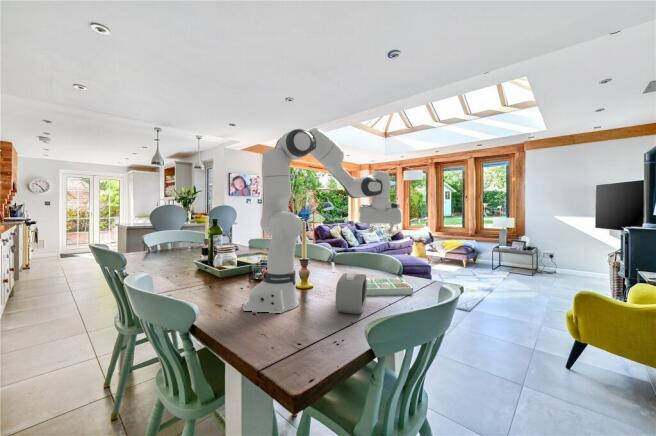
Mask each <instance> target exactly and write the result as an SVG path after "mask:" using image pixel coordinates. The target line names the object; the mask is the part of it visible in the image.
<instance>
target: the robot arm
mask: <svg viewBox="0 0 656 436" xmlns="http://www.w3.org/2000/svg"><path fill="white" fill-rule="evenodd" d="M308 155H311V156H313V157H314V159H316V160H317V161H318V162H319V163H320V164H321V165H322V166H324V167H325V168H326V170H327V171H328V172H329V173H330V174H331V176H333V178H334V179H335V180H337V181H338V183H339V184H340V185H341V186H342V187H343V189H344V190H345V193H346V194H347V195H348V197H350V198H352V199H359V198H370V197H371V202H370V204H366V203H365V204H361V205H359V208H358V212H359V223H360V224H366V227H367V229H368V233H370V234H372V233H373V229H372V228H370V226H371V224H378V225H379V224H381V225H382V224H386V225H387V224H388V225H389V226H390V227H389V228H387V234H391V233H392V229H393V228H394V227H395V224H398V225H400V224H401V223H402V212H401V210H400V204H399V203H396V202H394V201H391V197H390V192H391V177H390V173H388V172H387V171H385V170H381V169H380V170H374V171H373V172H372V173H370V174H369V175H366V176H361V177H354V176H352V175H351V174H350V173H349V172H348V170H347V169H345V168H344V167H343V165H342V163H343V161H344V159H345V158H344V157H345V153H344V150H343V148H342V147H341V146H340V144H339V143H338V142H336V141H335V140H334V139H333V138H332V137H331V136H330V135H328V134H327V133H325V132H324V131H323V130H321V129H319V128H316V127H314V128H311V129H309V130H305V129H301V128H296V129H292V130H291V131H288V132H286V133H284V134H283V135H282V136H280V138H279V139H278V140H277V141H276V143H275V147H274V148H269V149H267V150H265V151H264V152H263V154H262V160H261V175H262V176H261V177H262V189H263V190H262V191H263V205H262V216H261V218H260V228H261V229H262V230H263V232H264V234H266V235H268V236H270V238H271V239H270V240H271V241H270V244H269V245H270V246H269V249H268V251H267V253H266V263H267V264H266V265H267V266H266V267H267V269H265V270H263V272H262V277H261V279H262V281H260V282H259V283H258V284H257V285H255V287H253V288H252V289H251V290H250V292H249V295H248V299H247V300H246V301H244V303H243V305H242V311H243V310H244V311H252V312H251V313H257V312H269V313H268V314H275V313H280V314H282V313H284V312H286V311H289V310H293V309H295V308H297V307H298V306H299V304H300V303H299V299H298V296H297V289H296V283H297V273H296V270H295V252H296V247H297V242H298V238H299V236H300V235H301V234H302V231H303V227H304V224H303V221H302V219H301V218H300V216H298V215H297V214H295V213H294V212H292V211H289V203H290V199H291V198H292V183H291V182H292V181H291V174H290V166H291V162H292V161H294V160H295V161H296V160H299V159H302V158H303V157H306V156H308ZM244 311H243V312H244Z"/></svg>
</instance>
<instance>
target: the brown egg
mask: <svg viewBox="0 0 656 436" xmlns="http://www.w3.org/2000/svg"><path fill="white" fill-rule="evenodd" d="M407 283H408V282H407ZM407 283H405V282H401V283H400V284H399V286H398V287H399V288H408V285H407Z"/></svg>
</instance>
